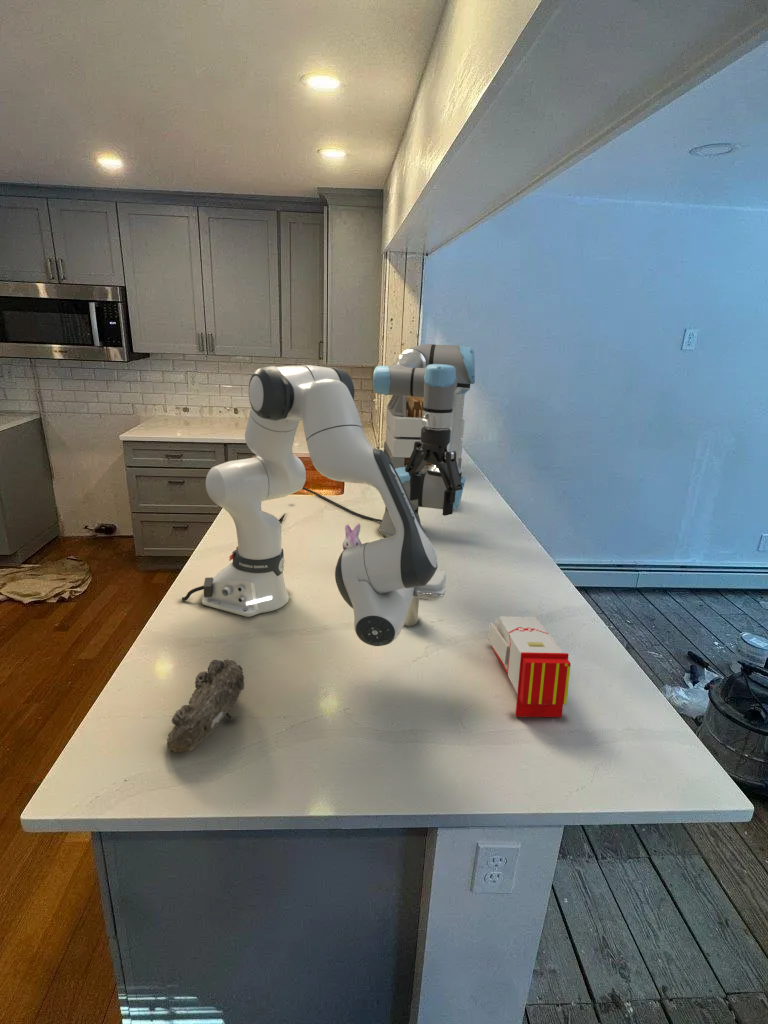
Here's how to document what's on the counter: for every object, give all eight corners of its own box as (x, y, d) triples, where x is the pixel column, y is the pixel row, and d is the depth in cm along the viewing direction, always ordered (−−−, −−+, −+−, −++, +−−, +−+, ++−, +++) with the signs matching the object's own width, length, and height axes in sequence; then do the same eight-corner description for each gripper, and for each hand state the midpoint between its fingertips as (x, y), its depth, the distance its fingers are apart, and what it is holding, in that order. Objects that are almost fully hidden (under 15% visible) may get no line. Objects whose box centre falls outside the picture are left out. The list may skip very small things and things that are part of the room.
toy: (534, 602, 136) (579, 659, 107) (529, 653, 139) (572, 723, 110) (484, 601, 136) (516, 658, 107) (480, 652, 139) (510, 722, 109)
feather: (292, 507, 224) (294, 503, 223) (275, 531, 197) (278, 527, 197) (288, 505, 224) (291, 501, 223) (271, 528, 197) (273, 524, 197)
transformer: (382, 463, 289) (386, 382, 275) (445, 464, 293) (451, 384, 279) (390, 482, 257) (394, 392, 243) (460, 483, 261) (468, 394, 247)
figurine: (347, 581, 163) (348, 533, 158) (333, 567, 172) (334, 521, 166) (376, 576, 167) (378, 528, 162) (361, 562, 176) (363, 517, 171)
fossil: (192, 660, 117) (244, 628, 112) (224, 691, 120) (276, 661, 115) (142, 746, 98) (202, 712, 93) (182, 779, 101) (242, 748, 96)
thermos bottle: (394, 623, 143) (397, 571, 138) (400, 613, 148) (403, 562, 143) (414, 627, 142) (418, 574, 137) (419, 617, 146) (423, 566, 141)
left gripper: (444, 584, 111) (451, 556, 123) (343, 571, 114) (360, 545, 127) (442, 612, 113) (448, 582, 125) (343, 598, 116) (359, 570, 129)
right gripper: (395, 420, 151) (391, 495, 158) (458, 438, 132) (451, 524, 139) (417, 418, 155) (412, 491, 162) (481, 436, 136) (473, 518, 143)
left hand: (403, 563), depth 126 cm, fingers open, 8 cm apart
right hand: (430, 506), depth 150 cm, fingers open, 13 cm apart
